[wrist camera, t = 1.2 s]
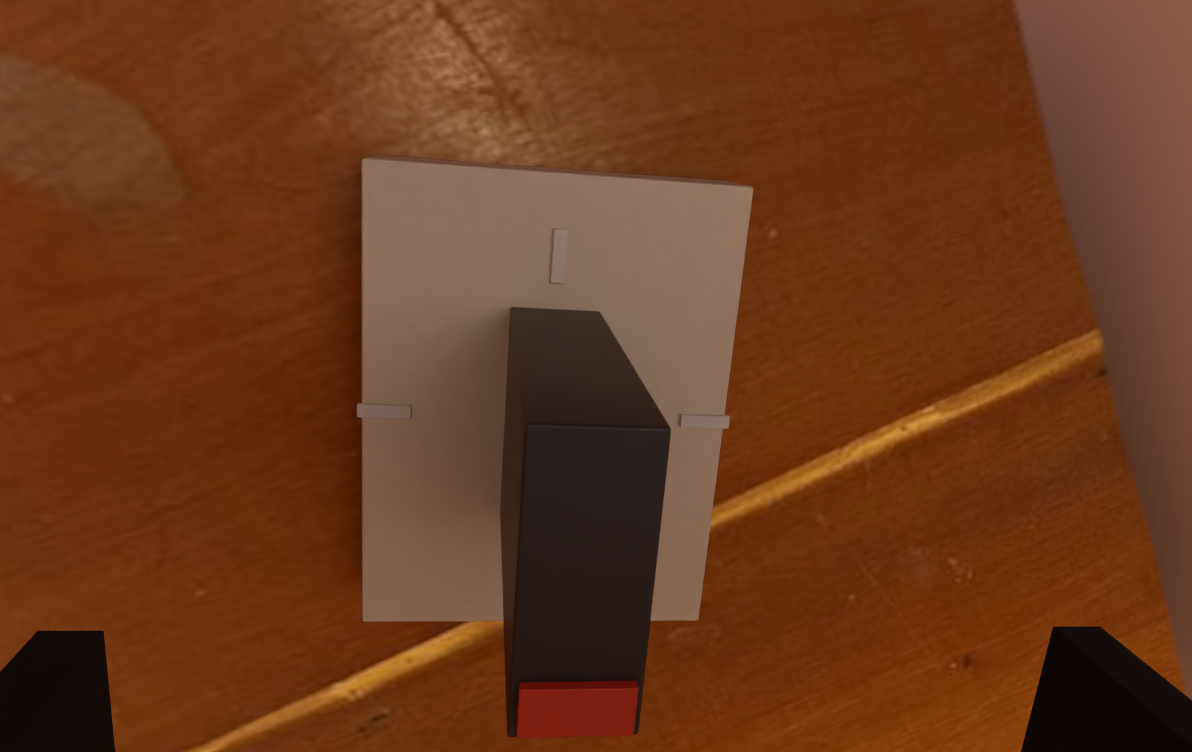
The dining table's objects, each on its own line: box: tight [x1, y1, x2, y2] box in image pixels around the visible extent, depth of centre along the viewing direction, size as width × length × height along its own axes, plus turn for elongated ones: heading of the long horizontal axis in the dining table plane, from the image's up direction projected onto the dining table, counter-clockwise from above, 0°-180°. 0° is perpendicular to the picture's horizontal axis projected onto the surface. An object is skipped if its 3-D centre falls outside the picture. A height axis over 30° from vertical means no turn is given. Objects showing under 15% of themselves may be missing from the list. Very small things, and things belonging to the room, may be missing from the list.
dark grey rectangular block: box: [500, 307, 671, 738], centre depth 18 cm, size 6×2×9 cm, turn 176°
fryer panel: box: [357, 155, 753, 622], centre depth 24 cm, size 13×10×3 cm
